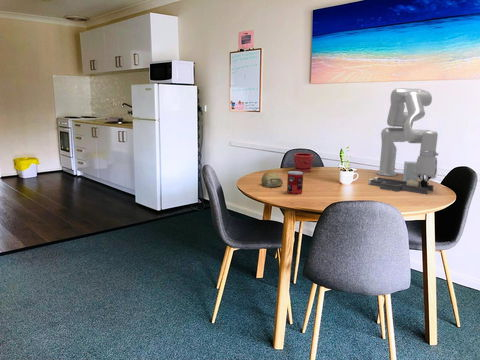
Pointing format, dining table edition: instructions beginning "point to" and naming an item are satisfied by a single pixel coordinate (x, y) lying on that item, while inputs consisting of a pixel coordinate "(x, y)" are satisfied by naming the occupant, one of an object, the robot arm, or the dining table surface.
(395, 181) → the trap channel
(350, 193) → the dining table surface
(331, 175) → the dining table surface
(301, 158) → the plant pot
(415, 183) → the birch block
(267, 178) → the pastry
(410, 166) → the supplement box
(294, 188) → the canned food
